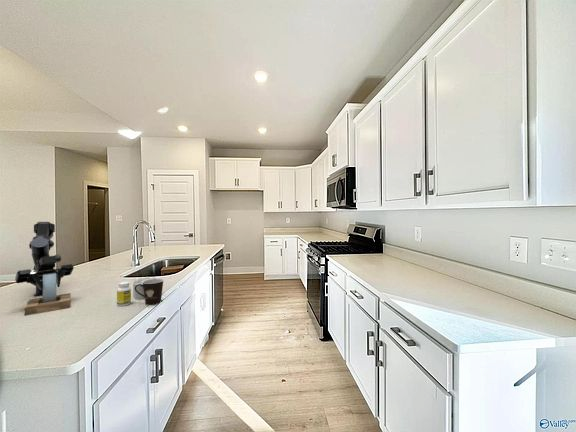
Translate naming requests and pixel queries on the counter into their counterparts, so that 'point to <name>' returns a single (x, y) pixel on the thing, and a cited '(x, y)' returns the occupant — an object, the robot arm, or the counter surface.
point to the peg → (49, 287)
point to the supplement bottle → (123, 294)
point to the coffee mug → (152, 291)
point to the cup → (139, 288)
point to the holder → (47, 304)
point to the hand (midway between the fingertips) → (50, 288)
